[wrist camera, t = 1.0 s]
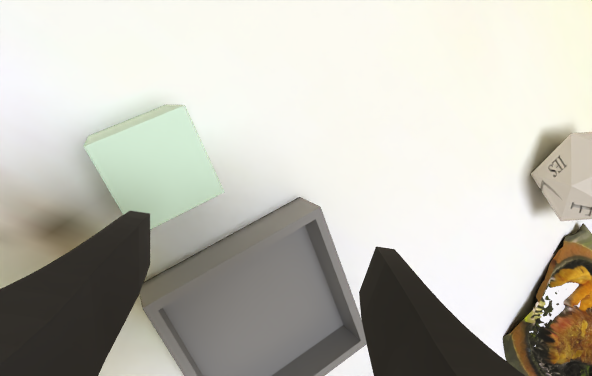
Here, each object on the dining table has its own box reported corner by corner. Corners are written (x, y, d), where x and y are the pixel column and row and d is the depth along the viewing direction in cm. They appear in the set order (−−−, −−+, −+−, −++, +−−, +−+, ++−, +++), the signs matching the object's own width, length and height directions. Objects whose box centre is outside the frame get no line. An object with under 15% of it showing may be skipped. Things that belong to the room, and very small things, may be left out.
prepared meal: (519, 371, 39) (609, 227, 41) (489, 351, 42) (573, 218, 44) (598, 435, 53) (662, 325, 55) (570, 416, 56) (632, 313, 58)
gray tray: (216, 414, 28) (228, 446, 25) (137, 285, 24) (142, 308, 21) (347, 322, 32) (369, 342, 29) (299, 197, 28) (320, 206, 25)
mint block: (128, 206, 23) (135, 236, 18) (88, 136, 21) (83, 146, 16) (198, 173, 24) (224, 192, 19) (165, 104, 23) (184, 104, 17)
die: (521, 125, 38) (585, 199, 31) (618, 96, 37) (708, 167, 30) (513, 182, 44) (565, 255, 37) (596, 159, 43) (666, 230, 36)
